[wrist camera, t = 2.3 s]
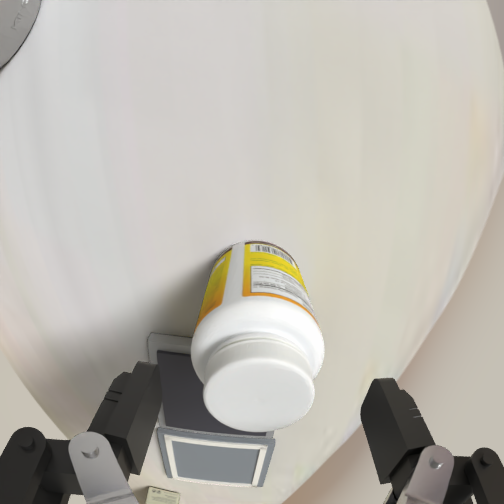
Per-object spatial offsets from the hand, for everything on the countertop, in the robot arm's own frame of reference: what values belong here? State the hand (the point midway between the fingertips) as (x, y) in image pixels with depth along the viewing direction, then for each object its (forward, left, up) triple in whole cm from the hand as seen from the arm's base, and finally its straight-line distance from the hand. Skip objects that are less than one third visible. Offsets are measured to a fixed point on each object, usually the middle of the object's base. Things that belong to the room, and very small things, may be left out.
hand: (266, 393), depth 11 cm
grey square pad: (-2, -21, -10) cm, 24 cm away
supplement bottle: (0, 0, -10) cm, 10 cm away
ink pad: (-2, -10, -10) cm, 14 cm away
